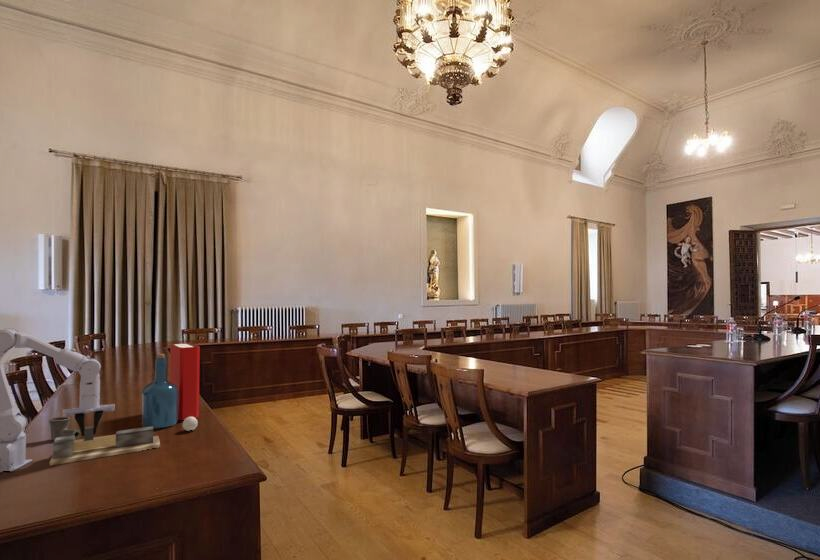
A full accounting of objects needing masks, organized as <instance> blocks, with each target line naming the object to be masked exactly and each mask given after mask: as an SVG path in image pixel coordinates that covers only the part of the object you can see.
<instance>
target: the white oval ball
mask: <svg viewBox="0 0 820 560" xmlns="http://www.w3.org/2000/svg"><path fill="white" fill-rule="evenodd" d="M198 423H201V421H199V422H198V419H196V418H195V417H187V418H186V419H185V420H184V421H182V428H183V430H184V431H187V432H191V431H190V430H192V431H194V430H195V429H196V428H197V427H198Z"/></svg>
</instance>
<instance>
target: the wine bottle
mask: <svg viewBox="0 0 820 560" xmlns="http://www.w3.org/2000/svg"><path fill="white" fill-rule="evenodd" d="M167 365H168V363H167V356H166V355H165V353H159V354H157V357H156V359H155V364H154V366H155V370H154V371H155V372H154V374H155V375H154V380H152V381H151V382H149V383H148V384H146V385H145V386H144V387H143V388H142V390H141V394H142V405H141V407H142V409H141V411H142V412H141V413H142V414H141V421H142V422H141V425H142V428H143V427H150V426H153V429H154V430H159V429H160V428H161V429H166V427H167V428H170V427H172V426H175V425H177V424H178V421H179V420H178V389H177V387H176V386H175V385H174V384H173V383H170V381H168V377H167ZM169 426H170V427H169Z"/></svg>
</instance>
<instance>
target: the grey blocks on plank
mask: <svg viewBox="0 0 820 560" xmlns="http://www.w3.org/2000/svg"><path fill="white" fill-rule="evenodd" d="M154 430H155V429H153V426H150V427H143V426H142V427H138V428H137V427H136V428H130V429H123V430H116V433H115V434H116V445H114V446H107V447H100V448H94V449H87V450H81V451H74V452H73V440H75V435H71V436H63V437H56V439H55V440H53V444H52V445H53V446H52V457H51V459H50V461H49V466H50V467H51V466H55V465H60V464H61V465H62V464H68V463H73V462H74V463H76V462H81V461H87V460H92V459H98V458H99V459H101V458H105V457H111V456H112V457H113V456H117V455H118V456H119V455H123V454H129V453H135V452H143V451H148V450H147V449H149V450H153V449H152V448H156V449H160V448H161V442H160V441H161V440H160V438H159V435H155V436H154ZM159 447H160V448H159ZM142 450H143V451H142Z"/></svg>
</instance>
